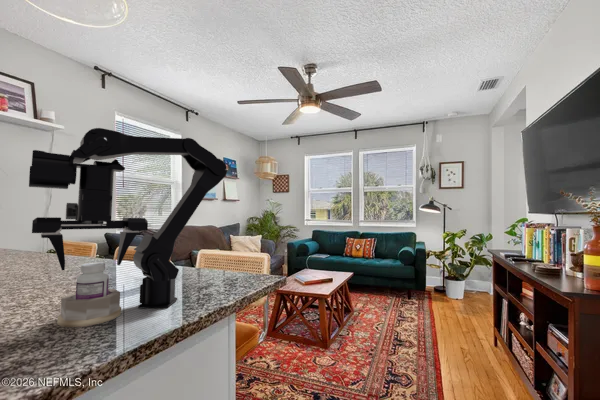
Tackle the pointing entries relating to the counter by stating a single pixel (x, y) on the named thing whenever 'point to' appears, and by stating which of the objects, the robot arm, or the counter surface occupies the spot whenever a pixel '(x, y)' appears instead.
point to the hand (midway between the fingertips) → (92, 267)
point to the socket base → (89, 310)
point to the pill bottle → (92, 281)
